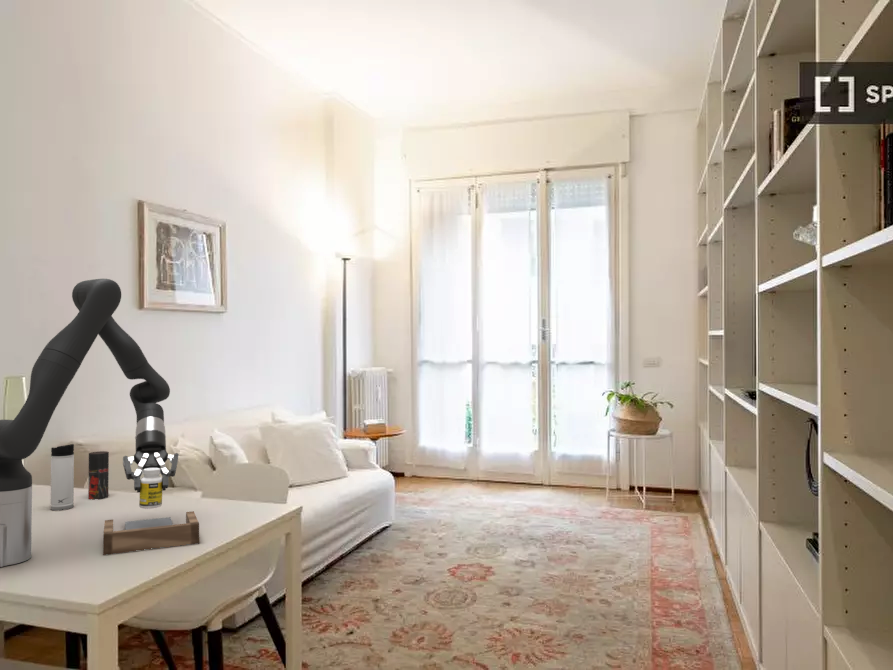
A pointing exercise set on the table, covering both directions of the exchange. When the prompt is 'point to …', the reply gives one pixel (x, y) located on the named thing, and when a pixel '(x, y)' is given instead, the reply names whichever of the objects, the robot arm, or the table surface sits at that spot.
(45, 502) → the table surface
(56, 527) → the table surface
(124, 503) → the table surface
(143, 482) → the supplement bottle
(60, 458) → the travel mug
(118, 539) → the walnut bay
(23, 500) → the robot arm
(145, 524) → the slate pad
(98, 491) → the deodorant
